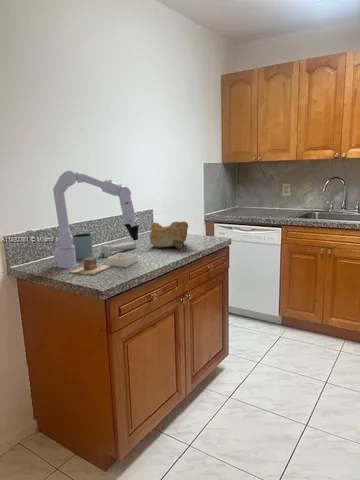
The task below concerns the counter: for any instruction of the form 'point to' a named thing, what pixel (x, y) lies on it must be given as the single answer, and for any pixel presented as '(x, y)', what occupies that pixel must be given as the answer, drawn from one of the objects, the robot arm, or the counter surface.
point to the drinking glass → (83, 245)
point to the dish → (122, 259)
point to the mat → (92, 275)
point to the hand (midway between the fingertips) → (134, 238)
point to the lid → (90, 267)
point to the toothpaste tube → (116, 248)
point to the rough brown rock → (169, 235)
